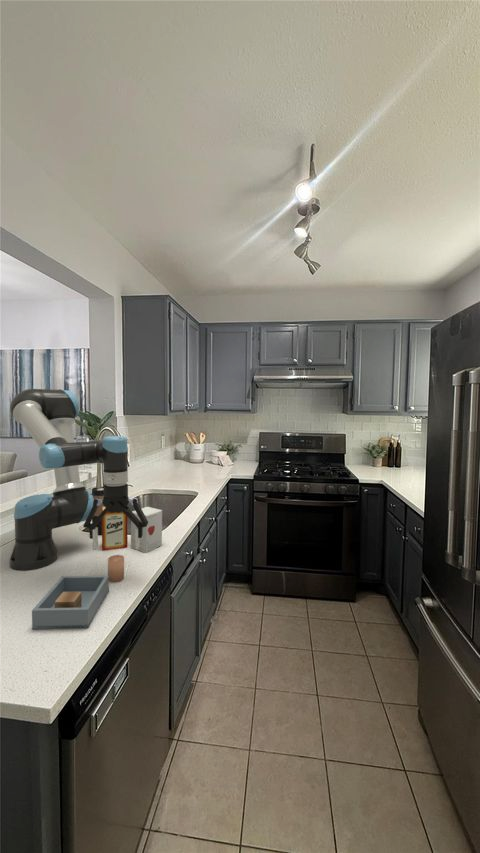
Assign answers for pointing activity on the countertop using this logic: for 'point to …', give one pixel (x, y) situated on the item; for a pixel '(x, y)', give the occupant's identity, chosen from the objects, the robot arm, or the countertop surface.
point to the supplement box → (149, 530)
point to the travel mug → (98, 494)
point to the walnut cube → (69, 600)
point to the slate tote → (67, 618)
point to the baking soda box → (114, 530)
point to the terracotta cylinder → (116, 568)
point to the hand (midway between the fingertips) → (116, 547)
